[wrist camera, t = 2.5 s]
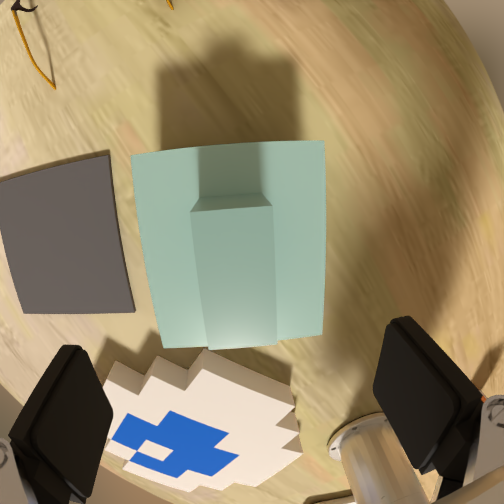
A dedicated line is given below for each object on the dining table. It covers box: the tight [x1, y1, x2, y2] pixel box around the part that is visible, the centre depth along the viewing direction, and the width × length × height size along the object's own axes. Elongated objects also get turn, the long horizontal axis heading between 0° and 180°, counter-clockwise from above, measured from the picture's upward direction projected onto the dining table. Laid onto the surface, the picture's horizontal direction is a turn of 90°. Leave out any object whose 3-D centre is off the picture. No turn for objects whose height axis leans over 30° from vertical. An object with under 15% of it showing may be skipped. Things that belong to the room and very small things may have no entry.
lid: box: [131, 141, 326, 350], centre depth 19 cm, size 13×15×6 cm
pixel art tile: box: [102, 348, 303, 492], centre depth 35 cm, size 28×4×28 cm
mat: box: [0, 155, 136, 314], centre depth 27 cm, size 16×16×1 cm
